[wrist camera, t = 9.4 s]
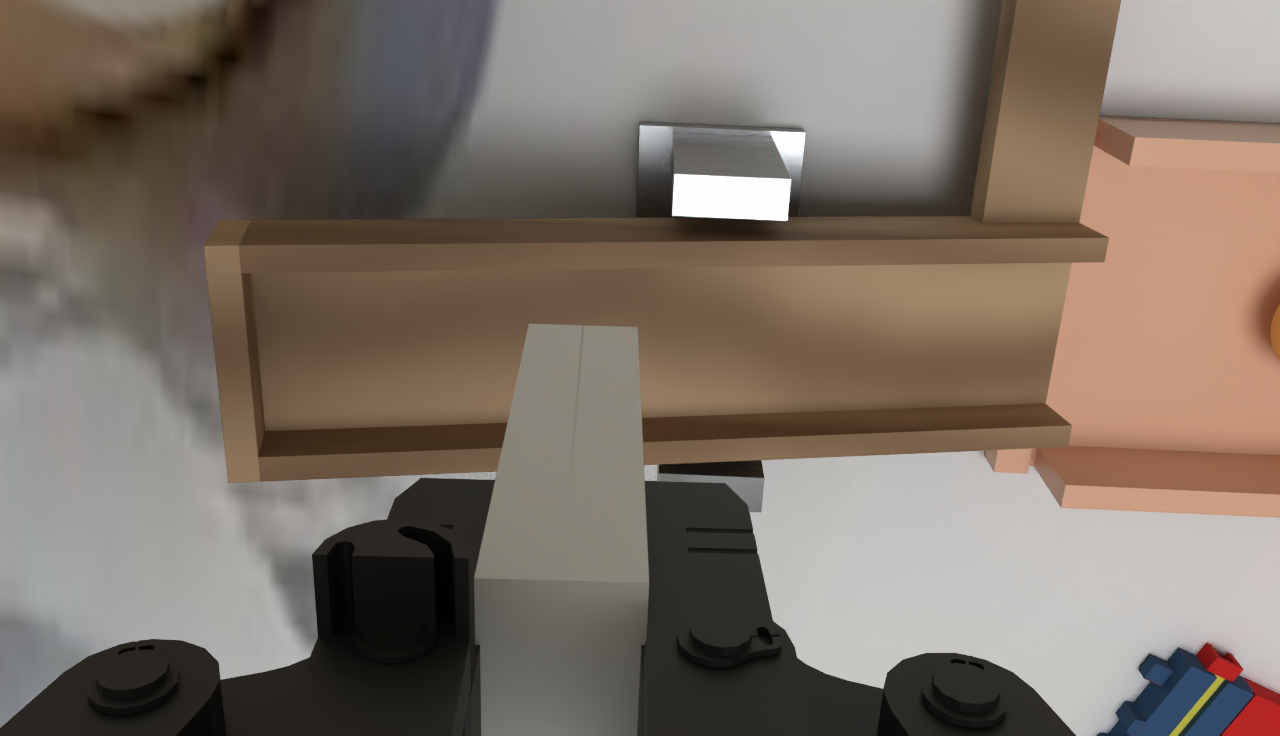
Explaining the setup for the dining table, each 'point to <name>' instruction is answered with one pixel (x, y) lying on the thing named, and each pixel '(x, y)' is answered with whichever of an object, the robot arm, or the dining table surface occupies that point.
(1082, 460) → the dish
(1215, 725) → the toy gun
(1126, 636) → the dining table surface
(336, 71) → the dining table surface
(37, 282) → the dining table surface
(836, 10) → the dining table surface
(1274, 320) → the ball
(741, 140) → the stand
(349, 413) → the lever
